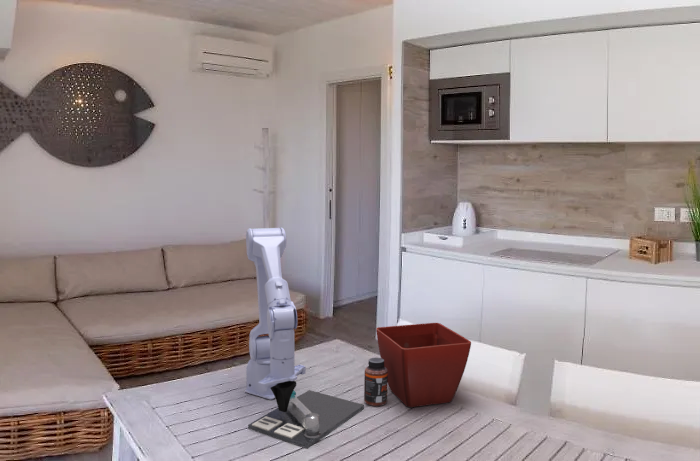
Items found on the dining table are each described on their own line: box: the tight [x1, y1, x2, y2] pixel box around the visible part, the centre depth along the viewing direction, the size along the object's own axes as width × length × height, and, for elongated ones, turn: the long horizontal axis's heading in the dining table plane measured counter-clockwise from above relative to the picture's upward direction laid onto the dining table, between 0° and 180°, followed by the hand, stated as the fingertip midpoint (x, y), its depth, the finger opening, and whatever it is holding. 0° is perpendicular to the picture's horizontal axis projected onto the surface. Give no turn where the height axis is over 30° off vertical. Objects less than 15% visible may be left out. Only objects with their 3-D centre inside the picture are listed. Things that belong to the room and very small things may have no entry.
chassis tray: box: [247, 389, 365, 449], centre depth 142 cm, size 17×24×1 cm
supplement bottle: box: [363, 357, 388, 407], centre depth 151 cm, size 6×6×11 cm
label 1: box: [252, 416, 283, 431], centre depth 137 cm, size 5×5×1 cm
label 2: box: [274, 423, 305, 438], centre depth 134 cm, size 5×5×1 cm
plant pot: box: [375, 322, 472, 408], centre depth 155 cm, size 19×19×17 cm
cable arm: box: [288, 389, 311, 429], centre depth 140 cm, size 14×3×4 cm, turn 27°
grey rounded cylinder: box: [304, 413, 321, 439], centre depth 132 cm, size 4×4×4 cm
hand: (282, 410), depth 141 cm, fingers closed
